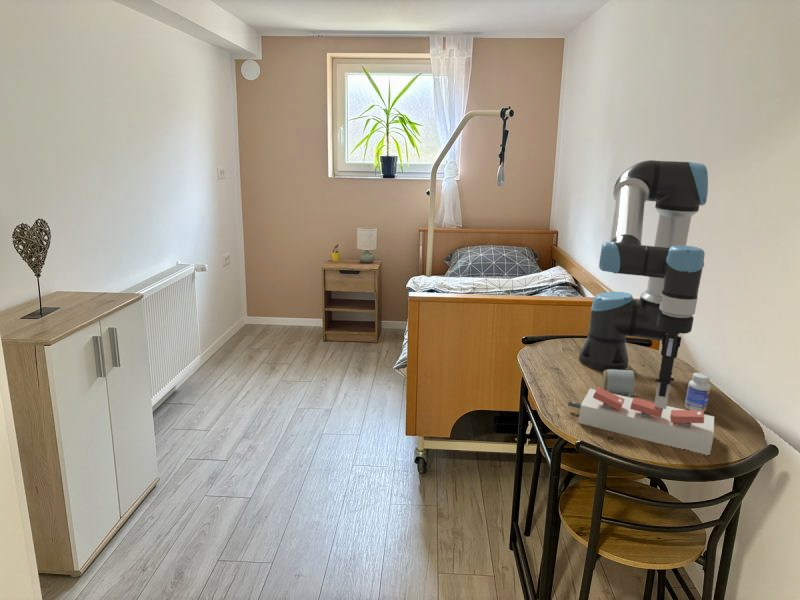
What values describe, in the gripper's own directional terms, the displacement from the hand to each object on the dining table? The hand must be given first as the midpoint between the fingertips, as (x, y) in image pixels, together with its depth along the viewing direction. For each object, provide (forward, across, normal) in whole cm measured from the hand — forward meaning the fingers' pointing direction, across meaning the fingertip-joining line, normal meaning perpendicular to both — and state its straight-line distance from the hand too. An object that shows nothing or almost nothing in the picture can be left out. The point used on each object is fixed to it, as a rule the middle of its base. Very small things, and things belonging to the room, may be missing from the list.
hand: (660, 406), depth 142 cm
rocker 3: (+1, 0, +6) cm, 6 cm away
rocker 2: (+1, 0, -3) cm, 3 cm away
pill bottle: (+8, -24, +8) cm, 27 cm away
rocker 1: (+1, 0, -12) cm, 12 cm away
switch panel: (+8, -3, -5) cm, 10 cm away
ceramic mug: (+8, -20, -12) cm, 25 cm away
